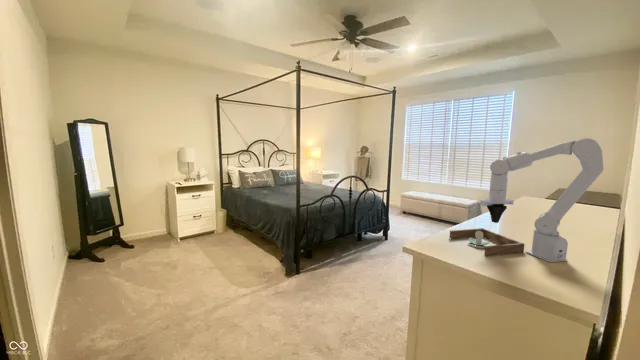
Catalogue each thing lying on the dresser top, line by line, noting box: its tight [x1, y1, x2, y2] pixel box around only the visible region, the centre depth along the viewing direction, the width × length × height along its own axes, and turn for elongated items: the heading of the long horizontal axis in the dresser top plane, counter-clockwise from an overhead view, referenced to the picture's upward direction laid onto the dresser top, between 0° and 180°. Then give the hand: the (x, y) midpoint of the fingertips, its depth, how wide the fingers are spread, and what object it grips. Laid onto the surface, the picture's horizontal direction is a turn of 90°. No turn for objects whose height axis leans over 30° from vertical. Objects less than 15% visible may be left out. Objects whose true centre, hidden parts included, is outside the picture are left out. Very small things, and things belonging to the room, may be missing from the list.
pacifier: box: [467, 231, 490, 249], centre depth 111 cm, size 7×6×6 cm
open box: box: [449, 227, 525, 257], centre depth 112 cm, size 20×17×4 cm
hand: (495, 222), depth 112 cm, fingers closed
